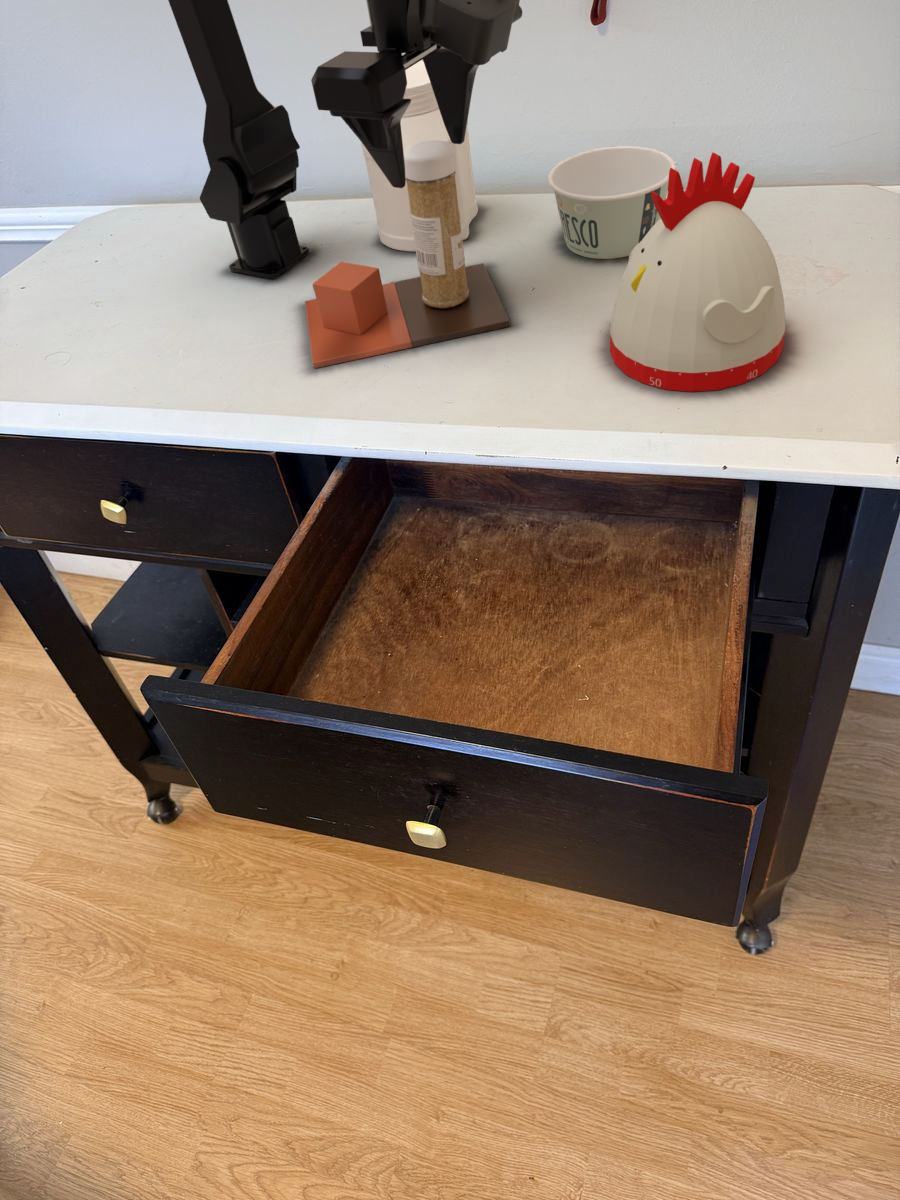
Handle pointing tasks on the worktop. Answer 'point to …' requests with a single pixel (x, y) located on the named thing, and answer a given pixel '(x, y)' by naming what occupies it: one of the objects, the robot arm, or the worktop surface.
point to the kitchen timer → (700, 290)
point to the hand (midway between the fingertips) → (429, 164)
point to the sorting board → (409, 321)
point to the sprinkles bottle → (436, 222)
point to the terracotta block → (350, 297)
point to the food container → (609, 198)
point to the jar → (394, 202)
